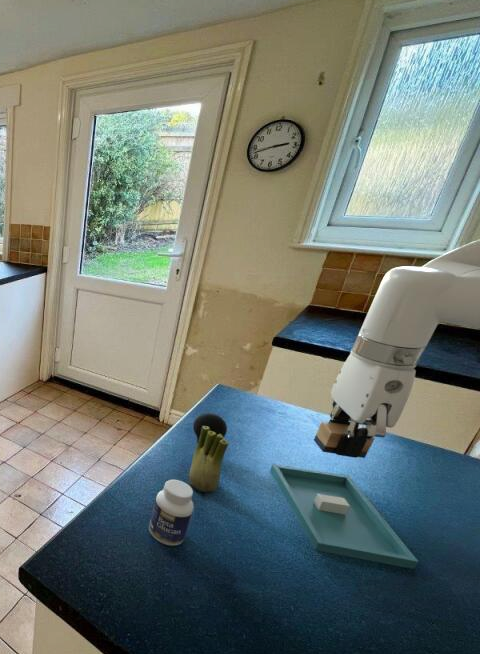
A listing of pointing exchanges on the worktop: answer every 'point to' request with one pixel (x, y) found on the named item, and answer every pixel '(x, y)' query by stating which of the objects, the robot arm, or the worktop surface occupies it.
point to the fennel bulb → (207, 461)
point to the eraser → (335, 437)
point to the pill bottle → (172, 513)
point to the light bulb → (210, 424)
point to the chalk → (331, 504)
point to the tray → (341, 517)
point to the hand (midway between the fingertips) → (339, 446)
